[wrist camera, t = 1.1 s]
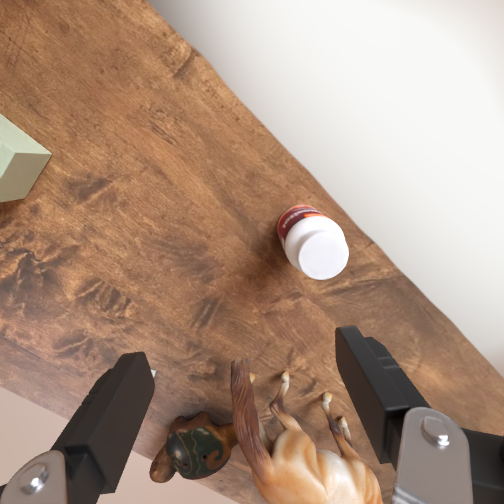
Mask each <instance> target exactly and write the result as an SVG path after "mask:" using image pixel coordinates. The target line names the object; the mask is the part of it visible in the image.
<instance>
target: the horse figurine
mask: <svg viewBox="0 0 504 504" xmlns="http://www.w3.org/2000/svg"><path fill="white" fill-rule="evenodd" d="M255 378H256V375H255V374H254V373H250V371H249V358H248V359H247V360H245V358H242V360H241V361H240V362H239V360H238V359H237V358H235V359H234V360H233V361H232V362H231V392H232V403H233V425H234V429H235V432H236V436H237V439H238V442H239V445H240V447H241V449H242V452H243V453H244V455H245V457H246V459H247V461H248V462H249V464H250V466H251V468H252V473H253V478H254V482H255V484H256V486H257V488H258V490H259V492H260V494H261V495H262V497H263V498H264V499H265V500H266V501H267V502H268V503H269V504H384V503H383V501H382V497H381V491H380V487H379V484H378V481H377V479H376V477H375V475H374V474H373V472H372V471H371V470H370V469H369V467H368V466H367V465H366V464H365V463H364V462H363V461H362V460H361V459H360V457H359V456H358V454H357V453H356V452H355V450H354V449H353V447H352V445H351V439H350V432H349V430H348V428H347V423H346V420H345V417H344V416H343V417H342V418H341V419H340V420H339V421H338V424H339V425H340V427H341V428H343V429H344V430H343V434H344V437H345V439H344V437H343V435H342V433H341V430H340V428H339V426H338V424H337V423H336V422H335V421H334V420H333V418H332V416H331V413H330V410H329V405H328V404H329V403H330V402H331V399H332V394H331V393H328V392H326V393H324V394H323V400H324V401H323V402H322V408H323V410H324V411H325V414H326V416H327V419H328V421H329V426H330V430H331V432H332V434H333V437H334V439H335V441H336V443H337V445H338V447H339V450H340V452H341V455H342V457H339V456H338V455H336V454H335V453H333V452H331V451H329V450H325V449H318V450H316V448H315V445H314V443H313V442H312V440H311V439H310V438H309V436H308V435H307V434H306V433H305V432H303V431H302V429H301V428H300V426H299V424H298V423H297V421H296V420H295V419H294V418H293V417H291V416H290V415H289V414H287V413H286V412H285V411H284V409H283V404H282V403H283V398H284V396H285V394H286V392H287V391H288V389H289V380H290V378H289V372H288V371H286V372H284V373H283V374H282V376H281V379H282V381H283V383H282V384H281V387H280V390H279V392H278V394H277V396H276V398H275V399H274V400H273V401H272V402H271V404H270V411H271V413H273V414H274V415H275V417H276V418H277V419H278V420H279V421H280V423H281V425H282V426H283V428H284V431H283V432H282V433H280V434H279V435H278V436H277V437H276V438H275V440H274V442H272V441H271V440H270V439H269V438H268V436H267V434H266V431H265V429H264V427H263V425H262V423H261V422H260V420H259V418H258V415H257V411H256V408H255V405H254V394H253V389H252V382H253V381H254V379H255Z"/></svg>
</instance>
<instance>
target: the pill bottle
mask: <svg viewBox="0 0 504 504" xmlns="http://www.w3.org/2000/svg"><path fill="white" fill-rule="evenodd" d="M277 229H278V236H279V239H280V241H281V244H282V246H283V248H284V251H285V253H286V256H287V258H288V260H289V261H290V263H291V264H292V265H293V266H294V267H295V268H296V269H298V270H299V271H301V272H304V273H305V274H306V275H307V276H309V277H311V278H313V279H318V280H325V279H329V278H332V277H334V276H336V275H337V274H338V273H340V272H341V271H342V270H343V268H344V267H345V265H346V263H347V260H348V255H349V252H348V247H347V244H346V243H345V237H344V234H343V232H342V230H341V228H340V227H339V226H338V225H337V224H336V223H335V222H334V221H332V220H331V219H330V218H328V217H327V216H325V215H324V214H322V213H321V212H319V211H318V210H317V209H315V208H313V207H311V206H308V205H297V206H294V207H291V208H290V209H288V210H287V211H286V212H285V213H284V214H283V215H282V216H281V218H280V220H279V223H278V228H277Z"/></svg>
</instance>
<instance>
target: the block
mask: <svg viewBox="0 0 504 504" xmlns="http://www.w3.org/2000/svg"><path fill="white" fill-rule="evenodd" d="M51 155H52V153H50V152H49V151H48V150H46V149H45V148H44V147H43V146H41V145H40V144H39V143H37V142H36V141H35V140H34V139H32V138H31V137H30V136H28V135H27V134H26V133H25V132H23V131H22V130H21V129H19V128H18V127H17V126H16V125H14V124H13V123H12V122H10V121H9V120H8V119H7V118H5V117H4V116H3V115H1V114H0V202H6V201H12V200H18V199H24V198H26V196H27V194H28V193H29V191H30V189H31V188H32V186H33V185H34V183H35V181H36V180H37V178H38V176H39V175H40V173H41V172H42V170H43V168H44V167H45V165H46V164H47V162H48V160H49V159H50V157H51Z"/></svg>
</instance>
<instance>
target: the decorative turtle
mask: <svg viewBox="0 0 504 504" xmlns="http://www.w3.org/2000/svg"><path fill="white" fill-rule="evenodd" d="M238 443H239V442H238V439H237V436H236V432H235V429H234V425H233V423H229V424H225V425H221V426H214V425H213V424H212V423H211V421H210V418H209V416H208V414H207V413H206V412H201V413H200V414H198V415H197V416H196V417H194V418H193V419H191V420H190V421H187V420H186V419H185V418H184V417H183V416H181V417H178V418H177V419H176V420H175V422H174V423H173V425H172V427H171V429H170V432H169V434H168V436H167V441H166V444H165V445H164V446H163V447H162V448H161V450H160V451H159V452H158V454H157V455H156V457H155V459H154V460H153V462H152V465H151V468H150V478H151V479H152V481H154V482H158V483H164V482H167V481H169V480H170V479H171V478H172V477H173V476H174V474H175V472H176V471H178V472H179V473H180V475H181V476H182V477H183V478H185V479H190V480H195V479H201V478H205V477H208V476H210V475H212V474H214V473H216V472H217V471H219V470H220V469H221V468H222V467H223V466H224V465H225V464H226V463H227V461H228V460H229V458H230V455H231V450H232V448H233V447H234V446H235V445H237V444H238Z"/></svg>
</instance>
